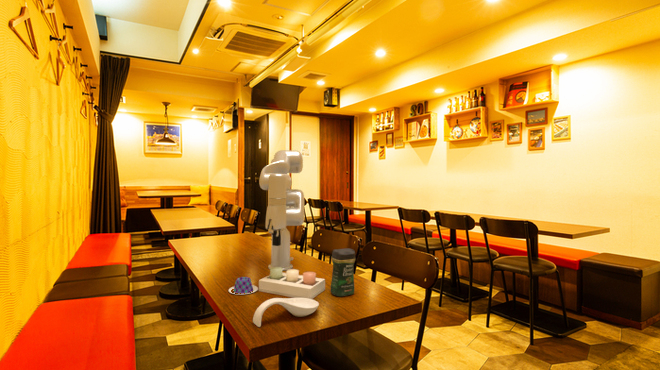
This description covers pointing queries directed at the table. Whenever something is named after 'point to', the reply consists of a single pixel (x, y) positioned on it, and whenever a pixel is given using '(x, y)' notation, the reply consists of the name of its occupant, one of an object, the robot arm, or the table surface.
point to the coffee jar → (343, 272)
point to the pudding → (243, 286)
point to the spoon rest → (287, 307)
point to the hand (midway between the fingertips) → (276, 245)
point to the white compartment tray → (291, 287)
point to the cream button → (292, 275)
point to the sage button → (276, 273)
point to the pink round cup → (309, 278)
